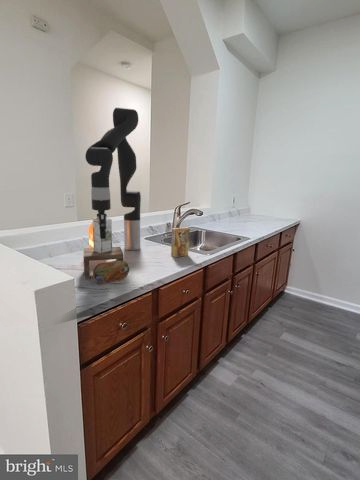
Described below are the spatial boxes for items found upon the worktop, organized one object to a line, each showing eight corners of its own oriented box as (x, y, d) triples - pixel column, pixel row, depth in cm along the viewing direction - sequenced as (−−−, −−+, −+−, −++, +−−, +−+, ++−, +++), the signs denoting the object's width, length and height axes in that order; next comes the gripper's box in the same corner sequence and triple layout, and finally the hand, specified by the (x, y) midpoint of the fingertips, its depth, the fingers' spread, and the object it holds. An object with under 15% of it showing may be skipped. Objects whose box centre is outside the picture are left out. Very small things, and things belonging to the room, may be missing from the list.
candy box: (184, 253, 154) (185, 226, 151) (188, 255, 151) (189, 228, 147) (170, 255, 150) (171, 228, 146) (174, 257, 146) (175, 229, 143)
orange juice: (94, 259, 140) (92, 220, 135) (89, 254, 147) (87, 217, 142) (109, 256, 144) (108, 219, 139) (103, 252, 151) (102, 216, 146)
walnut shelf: (85, 269, 125) (83, 248, 123) (120, 266, 130) (120, 246, 128) (84, 279, 114) (83, 256, 112) (123, 276, 119) (123, 254, 117)
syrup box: (104, 248, 124) (103, 216, 120) (112, 251, 120) (111, 218, 116) (93, 251, 119) (91, 218, 116) (101, 254, 116) (100, 220, 112)
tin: (94, 285, 109) (93, 265, 107) (92, 283, 111) (91, 263, 109) (129, 278, 117) (129, 259, 115) (126, 275, 120) (126, 257, 118)
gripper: (91, 196, 119) (93, 232, 123) (91, 200, 106) (93, 240, 110) (109, 196, 122) (110, 232, 126) (111, 200, 109) (112, 239, 113)
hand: (102, 236), depth 118 cm, fingers open, 8 cm apart
